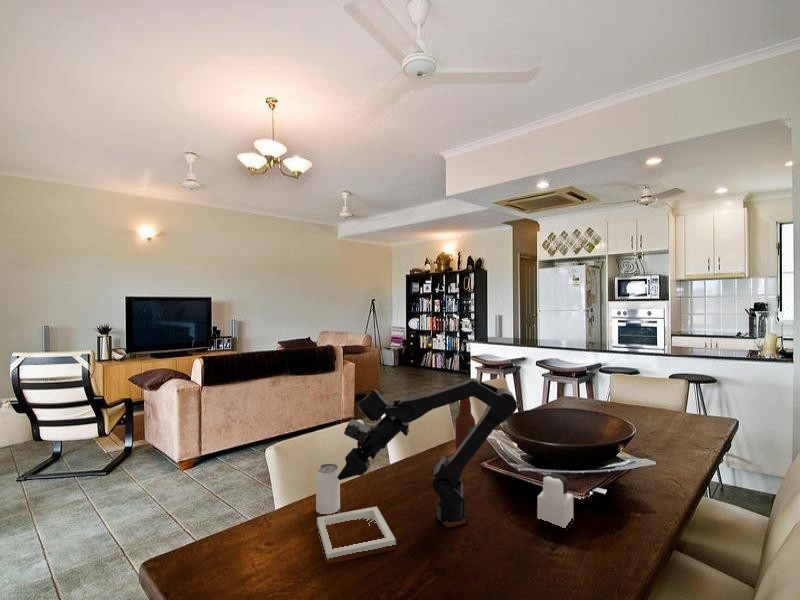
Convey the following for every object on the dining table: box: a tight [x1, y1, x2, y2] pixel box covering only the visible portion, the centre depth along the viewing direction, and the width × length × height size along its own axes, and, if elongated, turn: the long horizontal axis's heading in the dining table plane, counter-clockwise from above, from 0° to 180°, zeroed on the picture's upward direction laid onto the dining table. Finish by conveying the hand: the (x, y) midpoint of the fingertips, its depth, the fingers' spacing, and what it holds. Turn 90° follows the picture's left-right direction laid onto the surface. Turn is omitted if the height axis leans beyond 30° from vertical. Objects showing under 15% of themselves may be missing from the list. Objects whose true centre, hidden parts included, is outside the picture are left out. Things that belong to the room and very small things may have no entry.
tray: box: [316, 506, 397, 559], centre depth 101 cm, size 16×16×2 cm
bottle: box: [455, 397, 476, 456], centre depth 153 cm, size 7×7×25 cm
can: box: [315, 463, 341, 514], centre depth 114 cm, size 6×6×12 cm
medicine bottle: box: [536, 473, 574, 528], centre depth 107 cm, size 7×7×12 cm
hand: (343, 471), depth 113 cm, fingers open, 9 cm apart
